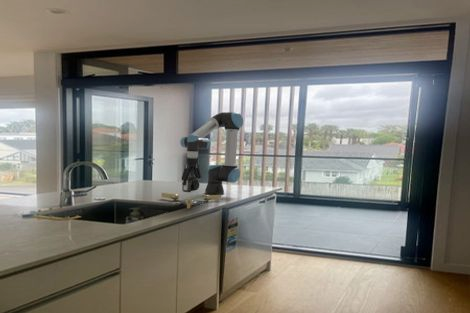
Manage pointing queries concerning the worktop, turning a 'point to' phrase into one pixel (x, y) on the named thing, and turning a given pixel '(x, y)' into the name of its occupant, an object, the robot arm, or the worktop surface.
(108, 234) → the worktop surface
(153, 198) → the worktop surface
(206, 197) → the tribrach
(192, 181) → the camera
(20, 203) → the worktop surface
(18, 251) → the worktop surface
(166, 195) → the knob lever
